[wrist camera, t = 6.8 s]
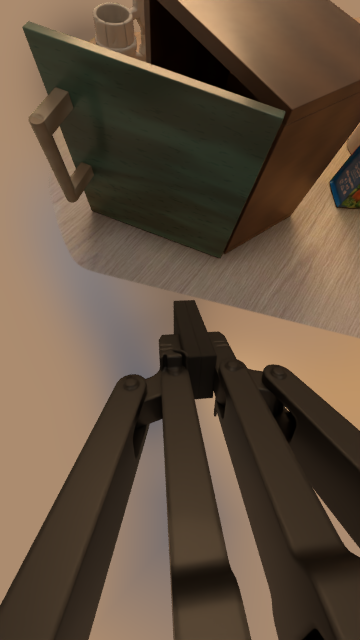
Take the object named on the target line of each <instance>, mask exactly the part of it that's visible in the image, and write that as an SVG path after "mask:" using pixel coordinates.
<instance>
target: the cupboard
mask: <svg viewBox="0 0 360 640" xmlns="http://www.w3.org/2000/svg"><path fill="white" fill-rule="evenodd" d="M144 20H145V44H146V63H149V64H152V65H155V66H158V67H161V68H163V69H166V70H169V71H172V72H175V73H178V74H181V75H183V76H186V77H189V78H192V79H195V80H198V81H201V82H203V83H206V84H209V85H212V86H215V87H218V88H220V89H223V90H226V91H229V92H232V93H235V94H238V95H240V96H243V97H246V98H249V99H252V100H255V101H258V102H260V103H263V104H266V105H269V106H272V107H275V108H277V109H280V110H283V111H285V116H284V119H283V121H282V123H281V125H280V128H279V130H278V132H277V134H276V136H275V139H274V141H273V143H272V145H271V147H270V150H269V152H268V154H267V156H266V158H265V161H264V163H263V165H262V167H261V170H260V172H259V174H258V176H257V178H256V181H255V183H254V185H253V187H252V189H251V192H250V194H249V196H248V198H247V200H246V203H245V205H244V207H243V209H242V211H241V214H240V216H239V218H238V220H237V223H236V225H235V227H234V229H233V231H232V234H231V236H230V238H229V240H228V242H227V245H226V247H225V249H224V251H223V253H224V254H226V253H228V252H229V251H231V250H233V249H234V248H236V247H238V246H240V245H241V244H243V243H245V242H246V241H248V240H250V239H252V238H253V237H255V236H257V235H258V234H260V233H262V232H264V231H265V230H267V229H269V228H270V227H272V226H274V225H276V224H277V223H279V222H281V221H282V220H284V219H286V218H287V217H289V216H291V214H292V213H293V212H294V210H295V209H296V208H297V206H298V205H299V203H300V202H301V201H302V199H303V198H304V197H305V195H306V194H307V193H308V191H309V190H310V189H311V187H312V186H313V185H314V183H315V182H316V181H317V179H318V178H319V177H320V175H321V174H322V173H323V171H324V170H325V168H326V167H327V166H328V164H329V163H330V162H331V160H332V159H333V158H334V156H335V155H336V154H337V152H338V151H339V150H340V148H341V147H342V146H343V144H344V143H345V142H346V140H347V139H348V138H349V136H350V135H351V133H352V132H353V131H354V129H355V128H356V127H357V125H358V124H359V123H360V23H358V22H357V21H356V20H354V19H353V18H352V17H350V16H349V15H348V14H347V13H345V12H344V11H343V10H341V9H340V8H339V7H337V6H336V5H335V4H334V3H332V2H331V1H330V0H144Z"/></svg>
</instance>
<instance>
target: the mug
mask: <svg viewBox="0 0 360 640" xmlns="http://www.w3.org/2000/svg"><path fill="white" fill-rule="evenodd" d="M93 18H94V24H95V30H96V36H95V41H96V45H98V46H101V47H104V48H106V49H109V50H112V51H115V52H118V53H121V54H124V55H126V56H129V57H132V58H135V59H138V60H141V61H144V62H146V44H145V20H144V0H133V6H132V8H129V9H128V8H127V7H125V6H123V5H120V4H117V3H103V4H101V5H99V6H97V7H95V9H94V10H93ZM134 19H137V22H138V24H139V25H140V28H141V44H140V48H139V52H136V49H137V42H136V37H135V35H134V26H133V20H134Z"/></svg>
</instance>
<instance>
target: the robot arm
mask: <svg viewBox="0 0 360 640" xmlns="http://www.w3.org/2000/svg"><path fill="white" fill-rule="evenodd" d="M159 354H160V370H159V371H158V373H157V374H155V375H154V376H152V377H150V378H147V379H145V378H143V377H142V376H139V375H136V374H134V375H128V376H124V377H123V378H121V379H120V380H119V381H118V382H117V384H116V386H115V388H114V390H113V391H112V394H111V395H110V397H109V399H108V401H107V403H106V405H105V407H104V409H103V411H102V412H101V414H100V416H99V418H98V420H97V422H96V424H95V426H94V428H93V430H92V431H91V433H90V435H89V437H88V439H87V441H86V443H85V445H84V447H83V449H82V451H81V453H80V454H79V456H78V458H77V460H76V462H75V464H74V466H73V468H72V470H71V472H70V474H69V475H68V477H67V479H66V481H65V483H64V485H63V487H62V489H61V491H60V493H59V494H58V497H57V498H56V500H55V502H54V504H53V506H52V508H51V510H50V512H49V514H48V516H47V518H46V520H45V521H44V523H43V525H42V527H41V529H40V531H39V533H38V535H37V537H36V539H35V540H34V542H33V544H32V546H31V548H30V550H29V552H28V554H27V556H26V557H25V559H24V561H23V563H22V565H21V567H20V569H19V571H18V573H17V575H16V577H15V579H14V580H13V582H12V584H11V586H10V588H9V590H8V592H7V594H6V596H5V598H4V600H3V601H2V603H1V605H0V640H88V639H89V635H90V632H91V628H92V625H93V621H94V618H95V614H96V611H97V607H98V603H99V600H100V597H101V593H102V590H103V586H104V583H105V579H106V576H107V572H108V568H109V565H110V562H111V558H112V555H113V551H114V548H115V544H116V541H117V537H118V533H119V530H120V527H121V523H122V520H123V516H124V513H125V509H126V505H127V502H128V499H129V495H130V492H131V488H132V485H133V481H134V478H135V474H136V471H137V467H138V464H139V460H140V457H141V453H142V450H143V446H144V443H145V439H146V435H147V432H148V429H149V424H150V423H152V422H155V421H158V420H160V419H163V438H164V457H165V477H166V497H167V517H168V534H169V535H168V536H169V556H170V575H171V595H172V615H173V635H174V636H173V637H174V640H251V636H250V632H249V627H248V623H247V619H246V614H245V610H244V606H243V601H242V598H241V593H240V589H239V586H238V583H237V580H236V577H235V576H234V574H233V572H232V570H231V567H230V564H229V560H228V556H227V551H226V547H225V542H224V537H223V532H222V527H221V523H220V518H219V513H218V508H217V504H216V499H215V494H214V490H213V485H212V480H211V475H210V471H209V466H208V461H207V457H206V452H205V447H204V442H203V438H202V433H201V428H200V424H199V419H198V414H197V409H196V405H195V400H194V399H203V398H213V390H214V393H215V396H216V398H215V408H214V416H216V414H218V416H219V420H220V423H221V427H222V430H223V434H224V437H225V441H226V444H227V447H228V451H229V454H230V457H231V461H232V464H233V467H234V470H235V474H236V478H237V481H238V484H239V488H240V490H241V494H242V498H243V501H244V505H245V507H246V511H247V514H248V518H249V521H250V525H251V528H252V531H253V535H254V538H255V541H256V545H257V548H258V551H259V555H260V558H261V562H262V565H263V568H264V572H265V575H266V579H267V582H268V585H269V589H270V593H271V598H272V608H273V617H274V622H275V627H276V630H277V635H278V639H279V640H360V557H358V556H356V555H355V554H353V553H351V552H350V551H349V550H348V549H347V548H346V547H345V546H344V544H343V542H342V541H341V539H340V537H339V535H338V534H337V532H336V530H335V528H334V526H333V524H332V523H331V521H330V519H329V517H328V515H327V513H326V511H325V510H324V508H323V506H322V504H321V502H320V501H319V499H318V497H317V495H316V493H317V494H318V495H319V496H320V498H321V499H322V500H323V501H324V503H325V504H326V505H327V507H328V508H329V509H330V511H331V512H332V513H333V514H334V516H335V517H336V518H337V520H338V521H339V522H340V523H341V525H342V526H343V527H344V529H345V530H346V531H347V533H348V534H349V535H350V536H351V538H352V539H353V540H354V542H356V544H357V545H358V546H359V548H360V431H359V430H358V429H357V428H356V427H355V426H353V425H352V424H351V423H350V422H349V421H348V420H347V419H345V418H344V417H343V416H342V415H341V414H339V413H338V412H337V411H336V410H335V409H334V408H332V407H331V406H330V405H329V404H328V403H327V402H326V401H324V400H323V399H322V398H321V397H320V396H319V395H317V394H316V393H315V392H314V391H313V390H312V389H310V388H309V387H308V386H307V385H306V384H305V383H304V382H302V381H301V380H300V379H299V378H298V377H297V376H295V375H294V374H293V373H292V372H291V371H289V370H288V369H287V368H285V367H282V366H280V365H268V366H266V367H265V368H264V370H263V372H262V371H256V370H251V369H248V368H247V367H246V365H245V364H244V363H243V362H241V361H239V360H237V359H236V357H235V355H234V353H233V351H232V350H231V348H230V346H229V344H228V342H227V340H226V338H225V336H224V335H223V334H221V333H220V332H207V330H206V327H205V325H204V322H203V320H202V317H201V315H200V313H199V310H198V308H197V305H196V303H195V301H194V300H191V301H189V300H188V301H174V334H173V335H162V336H161V337H160V339H159ZM285 407H286V408H287V409H288V410H289V411H290V412H289V411H288V410H287V409H286V408H285ZM312 487H313V488H312ZM313 489H314V490H315V491H316V493H315V491H314V490H313Z"/></svg>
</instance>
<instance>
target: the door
mask: <svg viewBox="0 0 360 640" xmlns="http://www.w3.org/2000/svg"><path fill="white" fill-rule="evenodd" d="M23 30H24V33H25V36H26V38H27V41H28V43H29V46H30V49H31V51H32V54H33V57H34V59H35V62H36V64H37V67H38V70H39V72H40V75H41V78H42V80H43V83H44V86H45V88H46V91H47V93H48V96H47V97H46V98H45V99H44V100H43V102H42V103H41V104H40V105H39V106H38V108H37V109H36V110H35V111H34V112H33V113H32V114H31V115H30V117H29V122H30V124H31V126H32V129H33V131H34V133H35V135H36V137H37V139H38V141H39V143H40V145H41V147H42V149H43V151H44V153H45V155H46V157H47V159H48V161H49V163H50V166H51V168H52V170H53V172H54V174H55V176H56V178H57V180H58V182H59V184H60V186H61V188H62V190H63V192H64V194H65V196H66V198H67V200H68V201H69V202H76V201H77V200H78V198H79V197H80V195H81V194H82V192H83V191H85V194H86V197H87V199H88V202H89V204H90V207H91V210H92V211H95V212H98V213H100V214H103V215H106V216H108V217H111V218H114V219H116V220H119V221H122V222H124V223H127V224H130V225H132V226H135V227H138V228H140V229H143V230H146V231H148V232H151V233H154V234H156V235H159V236H162V237H164V238H167V239H170V240H172V241H175V242H178V243H180V244H183V245H186V246H188V247H191V248H194V249H196V250H199V251H202V252H204V253H207V254H210V255H212V256H215V257H218V258H221V256H222V253H223V251H224V249H225V247H226V245H227V242H228V240H229V238H230V236H231V234H232V231H233V229H234V227H235V225H236V223H237V220H238V218H239V216H240V214H241V211H242V209H243V207H244V205H245V203H246V200H247V198H248V196H249V194H250V192H251V189H252V187H253V185H254V183H255V181H256V178H257V176H258V174H259V172H260V170H261V167H262V165H263V163H264V161H265V158H266V156H267V154H268V152H269V150H270V147H271V145H272V143H273V141H274V139H275V136H276V134H277V132H278V130H279V128H280V125H281V123H282V121H283V119H284V116H285V111H283V110H280V109H277V108H275V107H272V106H269V105H266V104H263V103H260V102H258V101H255V100H252V99H249V98H246V97H243V96H240V95H238V94H235V93H232V92H229V91H226V90H223V89H220V88H218V87H215V86H212V85H209V84H206V83H203V82H201V81H198V80H195V79H192V78H189V77H186V76H183V75H181V74H178V73H175V72H172V71H169V70H166V69H163V68H161V67H158V66H155V65H152V64H149V63H146V62H144V61H141V60H138V59H135V58H132V57H129V56H126V55H124V54H121V53H118V52H115V51H112V50H109V49H106V48H104V47H101V46H98V45H95V44H92V43H89V42H87V41H84V40H81V39H78V38H75V37H72V36H69V35H67V34H64V33H61V32H58V31H55V30H52V29H49V28H47V27H44V26H41V25H38V24H35V23H32V22H27V23H26V24H25V25H24V26H23ZM59 126H60V128H61V131H62V133H63V136H64V138H65V141H66V144H67V146H68V149H69V152H70V154H71V157H72V160H73V162H74V165H75V167H76V170H75V171H74V173H73V174H72V176H71V177H70V176H69V174H68V171H67V169H66V167H65V164H64V162H63V160H62V157H61V155H60V152H59V150H58V148H57V145H56V143H55V141H54V138H53V136H52V134H53V133H54V132H55V131H56V130H57V128H58V127H59Z"/></svg>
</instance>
